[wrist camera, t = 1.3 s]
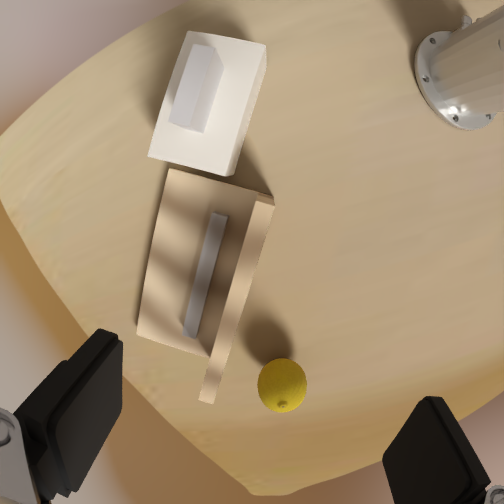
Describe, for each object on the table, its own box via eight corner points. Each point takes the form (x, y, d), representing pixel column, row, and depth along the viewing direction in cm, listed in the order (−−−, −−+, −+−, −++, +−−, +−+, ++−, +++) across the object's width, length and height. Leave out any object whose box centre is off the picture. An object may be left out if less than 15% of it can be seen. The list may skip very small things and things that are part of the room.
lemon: (312, 363, 38) (320, 405, 30) (280, 388, 39) (282, 432, 31) (281, 337, 37) (283, 378, 29) (249, 365, 38) (244, 407, 31)
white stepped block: (203, 54, 30) (172, 6, 18) (266, 68, 30) (264, 20, 18) (170, 158, 33) (122, 155, 21) (233, 174, 33) (215, 178, 21)
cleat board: (172, 168, 33) (140, 169, 24) (273, 196, 33) (274, 206, 24) (139, 330, 38) (110, 369, 29) (223, 356, 38) (213, 404, 29)
